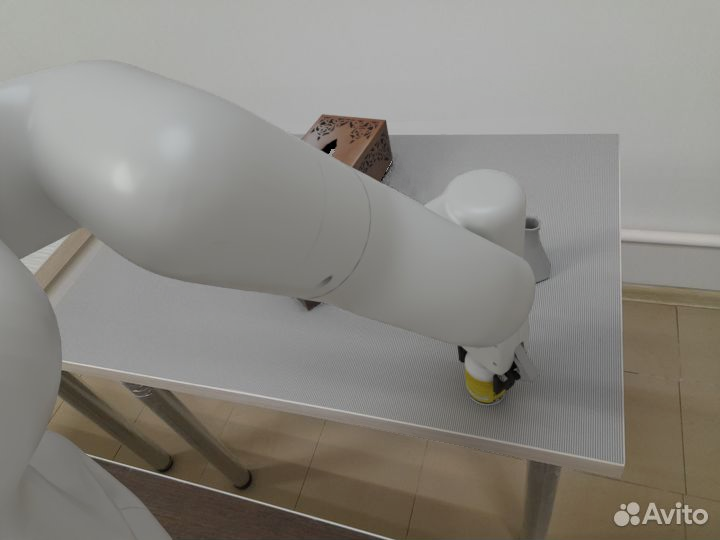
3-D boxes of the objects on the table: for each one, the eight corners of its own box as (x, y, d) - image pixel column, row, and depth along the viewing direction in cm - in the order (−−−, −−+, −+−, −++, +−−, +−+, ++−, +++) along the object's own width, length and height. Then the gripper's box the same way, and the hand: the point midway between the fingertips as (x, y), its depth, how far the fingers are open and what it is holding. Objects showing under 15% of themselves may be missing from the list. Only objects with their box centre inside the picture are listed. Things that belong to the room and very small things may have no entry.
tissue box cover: (333, 154, 115) (322, 114, 107) (393, 162, 109) (385, 120, 101) (272, 234, 100) (255, 193, 93) (338, 247, 94) (325, 206, 87)
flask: (555, 282, 81) (561, 236, 73) (507, 287, 82) (509, 243, 74) (545, 249, 86) (550, 203, 78) (500, 254, 87) (500, 209, 79)
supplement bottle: (497, 413, 68) (497, 374, 61) (459, 396, 71) (455, 357, 64) (513, 381, 71) (515, 339, 64) (476, 365, 74) (474, 324, 67)
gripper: (404, 256, 59) (421, 346, 72) (522, 351, 48) (516, 436, 61) (454, 222, 61) (461, 316, 74) (577, 305, 50) (560, 397, 63)
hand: (486, 369), depth 67 cm, fingers closed on supplement bottle, 5 cm apart
